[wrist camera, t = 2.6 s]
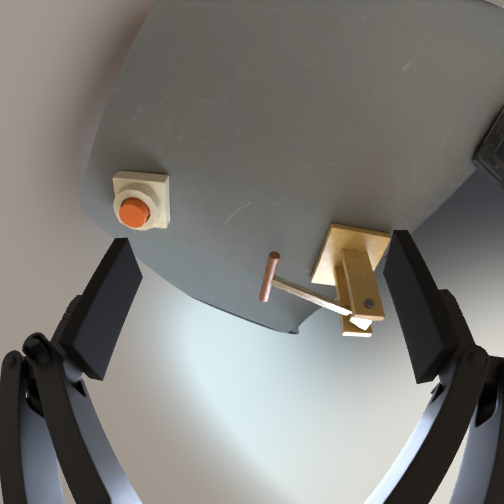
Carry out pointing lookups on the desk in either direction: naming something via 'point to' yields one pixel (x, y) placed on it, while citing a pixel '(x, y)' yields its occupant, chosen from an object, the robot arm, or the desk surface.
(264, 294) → the lever
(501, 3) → the desk lamp
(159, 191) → the button box
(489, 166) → the camera
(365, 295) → the bracket
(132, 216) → the button
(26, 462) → the robot arm
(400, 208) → the desk surface
